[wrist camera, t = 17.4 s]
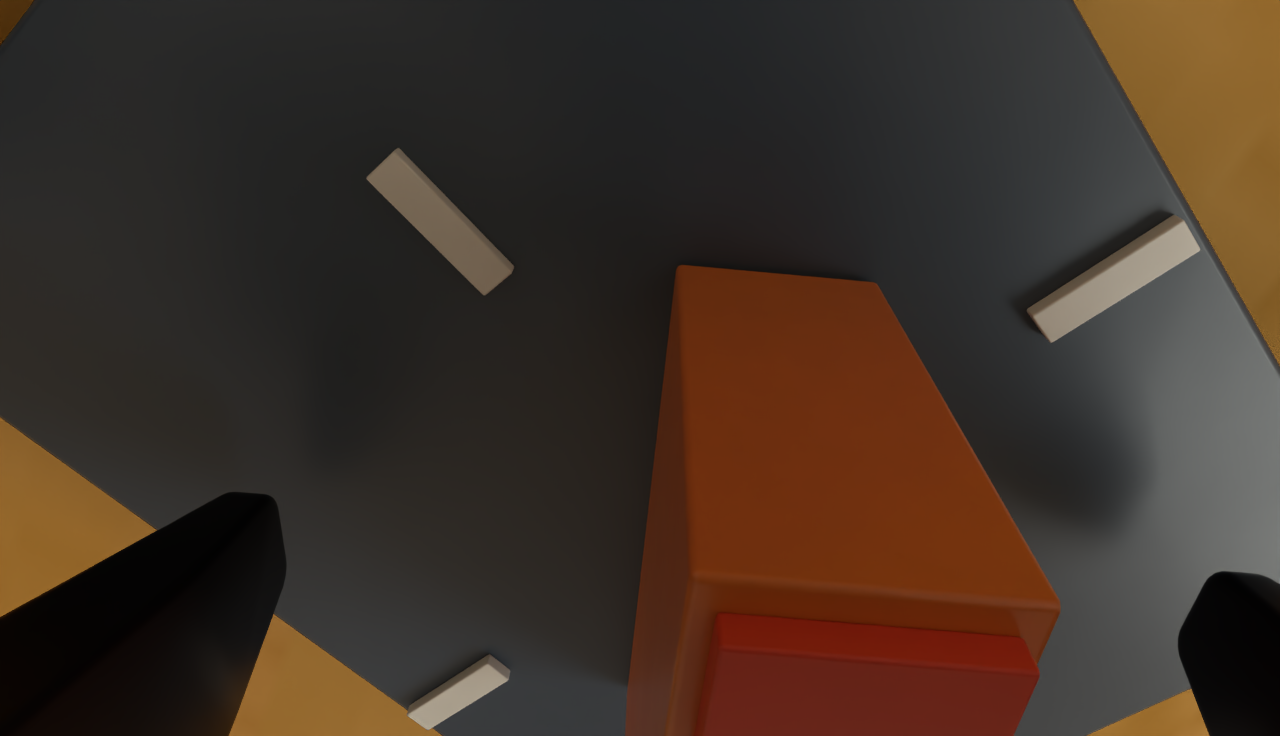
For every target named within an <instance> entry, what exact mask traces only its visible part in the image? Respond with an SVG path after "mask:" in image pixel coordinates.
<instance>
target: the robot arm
mask: <svg viewBox="0 0 1280 736" xmlns="http://www.w3.org/2000/svg"><path fill="white" fill-rule="evenodd" d="M286 569H287V562H286V554H285V548H284V541H283V534H282V528H281V521H280V515H279V509H278V505H277V503H276V501H275V499H274V498H273V497H271V496H270V495H268V494H259V493H247V492H228V493H225V494H223V495H221V496H219V497H217V498H215V499H213V500H212V501H210V502H208V503H206V504H204V505H203V506H201V507H199V508H197V509H195V510H193V511H192V512H190V513H188V514H186V515H184V516H183V517H181V518H179V519H177V520H175V521H174V522H172V523H170V524H168V525H166V526H165V527H163V528H161V529H159V530H157V531H155V532H154V533H152V534H150V535H148V536H146V537H145V538H143V539H141V540H139V541H137V542H136V543H134V544H132V545H130V546H128V547H126V548H125V549H123V550H121V551H119V552H117V553H116V554H114V555H112V556H110V557H108V558H107V559H105V560H103V561H101V562H99V563H98V564H96V565H94V566H92V567H90V568H88V569H87V570H85V571H83V572H81V573H79V574H78V575H76V576H74V577H72V578H70V579H69V580H67V581H65V582H63V583H61V584H59V585H58V586H56V587H54V588H52V589H50V590H49V591H47V592H45V593H43V594H41V595H40V596H38V597H36V598H34V599H32V600H30V601H29V602H27V603H25V604H23V605H21V606H20V607H18V608H16V609H14V610H12V611H11V612H9V613H7V614H5V615H3V616H2V617H0V736H229V733H230V731H231V728H232V726H233V723H234V721H235V718H236V715H237V713H238V710H239V708H240V705H241V702H242V699H243V697H244V694H245V691H246V688H247V686H248V683H249V680H250V677H251V675H252V672H253V669H254V666H255V663H256V661H257V658H258V655H259V652H260V650H261V647H262V644H263V641H264V639H265V636H266V633H267V630H268V628H269V625H270V622H271V619H272V617H273V614H274V611H275V608H276V605H277V603H278V600H279V597H280V594H281V592H282V589H283V586H284V582H285V577H286ZM1178 652H1179V657H1180V660H1181V663H1182V665H1183V668H1184V671H1185V673H1186V676H1187V678H1188V681H1189V684H1190V686H1191V689H1192V691H1193V694H1194V697H1195V699H1196V702H1197V704H1198V707H1199V709H1200V712H1201V715H1202V717H1203V720H1204V722H1205V725H1206V728H1207V730H1208V733H1209V735H1210V736H1280V584H1279V583H1278V582H1276V581H1274V580H1272V579H1271V578H1268V577H1266V576H1264V575H1260V574H1255V573H1244V572H1232V571H1220V572H1216V573H1214V574H1213V575H1211V576H1210V577H1209V578H1208V579H1207V580H1206V582H1205V583H1204V585H1203V587H1202V589H1201V591H1200V593H1199V594H1198V596H1197V598H1196V600H1195V602H1194V604H1193V606H1192V608H1191V610H1190V611H1189V613H1188V615H1187V617H1186V619H1185V621H1184V623H1183V625H1182V627H1181V629H1180V631H1179V635H1178Z"/></svg>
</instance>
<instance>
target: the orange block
mask: <svg viewBox="0 0 1280 736" xmlns="http://www.w3.org/2000/svg"><path fill="white" fill-rule="evenodd" d="M1060 608H1061V606H1060V600H1059V598H1058V597H1057V595H1056V593H1055V591H1054V590H1053V588H1052V586H1051V584H1050V583H1049V581H1048V579H1047V577H1046V576H1045V574H1044V572H1043V571H1042V569H1041V567H1040V565H1039V564H1038V562H1037V560H1036V558H1035V557H1034V555H1033V553H1032V551H1031V550H1030V548H1029V546H1028V545H1027V543H1026V541H1025V539H1024V538H1023V536H1022V534H1021V532H1020V531H1019V529H1018V527H1017V525H1016V524H1015V522H1014V520H1013V519H1012V517H1011V515H1010V513H1009V512H1008V510H1007V508H1006V506H1005V505H1004V503H1003V501H1002V499H1001V498H1000V496H999V494H998V493H997V491H996V489H995V487H994V486H993V484H992V482H991V480H990V479H989V477H988V475H987V473H986V472H985V470H984V468H983V467H982V465H981V463H980V461H979V460H978V458H977V456H976V454H975V453H974V451H973V449H972V447H971V446H970V444H969V442H968V441H967V439H966V437H965V435H964V434H963V432H962V430H961V428H960V427H959V425H958V423H957V421H956V420H955V418H954V416H953V415H952V413H951V411H950V409H949V408H948V406H947V404H946V402H945V401H944V399H943V397H942V395H941V394H940V392H939V390H938V389H937V387H936V385H935V383H934V382H933V380H932V378H931V376H930V375H929V373H928V371H927V369H926V368H925V366H924V364H923V363H922V361H921V359H920V357H919V356H918V354H917V352H916V350H915V349H914V347H913V345H912V343H911V342H910V340H909V338H908V337H907V335H906V333H905V331H904V330H903V328H902V326H901V324H900V323H899V321H898V319H897V317H896V316H895V314H894V312H893V311H892V309H891V307H890V305H889V304H888V302H887V300H886V298H885V297H884V295H883V293H882V291H881V290H880V288H879V286H878V285H877V284H876V283H874V282H866V281H855V280H844V279H833V278H822V277H811V276H800V275H789V274H778V273H767V272H756V271H745V270H734V269H723V268H712V267H701V266H690V265H680V266H678V267H677V269H676V275H675V283H674V292H673V301H672V309H671V318H670V326H669V335H668V344H667V352H666V361H665V370H664V378H663V387H662V396H661V404H660V413H659V421H658V430H657V439H656V447H655V456H654V465H653V473H652V482H651V491H650V499H649V508H648V516H647V525H646V534H645V542H644V551H643V560H642V568H641V577H640V586H639V594H638V603H637V611H636V620H635V629H634V637H633V646H632V655H631V663H630V672H629V681H628V689H627V705H626V728H625V736H1014V733H1015V731H1016V729H1017V727H1018V725H1019V722H1020V720H1021V718H1022V716H1023V713H1024V711H1025V709H1026V707H1027V704H1028V702H1029V700H1030V698H1031V695H1032V693H1033V691H1034V689H1035V686H1036V684H1037V682H1038V680H1039V677H1040V671H1039V668H1038V666H1037V664H1038V662H1039V660H1040V657H1041V655H1042V653H1043V651H1044V648H1045V646H1046V644H1047V642H1048V639H1049V637H1050V635H1051V632H1052V630H1053V628H1054V626H1055V623H1056V621H1057V619H1058V617H1059V614H1060Z"/></svg>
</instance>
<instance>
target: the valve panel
mask: <svg viewBox="0 0 1280 736" xmlns="http://www.w3.org/2000/svg"><path fill="white" fill-rule="evenodd" d="M680 265H690V266H701V267H712V268H723V269H734V270H745V271H756V272H767V273H778V274H789V275H800V276H811V277H822V278H833V279H844V280H855V281H866V282H874V283H876V284H877V285H878V286H879V288H880V290H881V291H882V293H883V295H884V297H885V298H886V300H887V302H888V304H889V305H890V307H891V309H892V311H893V312H894V314H895V316H896V317H897V319H898V321H899V323H900V324H901V326H902V328H903V330H904V331H905V333H906V335H907V337H908V338H909V340H910V342H911V343H912V345H913V347H914V349H915V350H916V352H917V354H918V356H919V357H920V359H921V361H922V363H923V364H924V366H925V368H926V369H927V371H928V373H929V375H930V376H931V378H932V380H933V382H934V383H935V385H936V387H937V389H938V390H939V392H940V394H941V395H942V397H943V399H944V401H945V402H946V404H947V406H948V408H949V409H950V411H951V413H952V415H953V416H954V418H955V420H956V421H957V423H958V425H959V427H960V428H961V430H962V432H963V434H964V435H965V437H966V439H967V441H968V442H969V444H970V446H971V447H972V449H973V451H974V453H975V454H976V456H977V458H978V460H979V461H980V463H981V465H982V467H983V468H984V470H985V472H986V473H987V475H988V477H989V479H990V480H991V482H992V484H993V486H994V487H995V489H996V491H997V493H998V494H999V496H1000V498H1001V499H1002V501H1003V503H1004V505H1005V506H1006V508H1007V510H1008V512H1009V513H1010V515H1011V517H1012V519H1013V520H1014V522H1015V524H1016V525H1017V527H1018V529H1019V531H1020V532H1021V534H1022V536H1023V538H1024V539H1025V541H1026V543H1027V545H1028V546H1029V548H1030V550H1031V551H1032V553H1033V555H1034V557H1035V558H1036V560H1037V562H1038V564H1039V565H1040V567H1041V569H1042V571H1043V572H1044V574H1045V576H1046V577H1047V579H1048V581H1049V583H1050V584H1051V586H1052V588H1053V590H1054V591H1055V593H1056V595H1057V597H1058V598H1059V600H1060V606H1061V608H1060V614H1059V617H1058V619H1057V621H1056V623H1055V626H1054V628H1053V630H1052V632H1051V635H1050V637H1049V639H1048V642H1047V644H1046V646H1045V648H1044V651H1043V653H1042V655H1041V657H1040V660H1039V662H1038V664H1037V666H1038V668H1039V671H1040V677H1039V680H1038V682H1037V684H1036V686H1035V689H1034V691H1033V693H1032V695H1031V698H1030V700H1029V702H1028V704H1027V707H1026V709H1025V711H1024V713H1023V716H1022V718H1021V720H1020V722H1019V725H1018V727H1017V729H1016V731H1015V733H1014V736H1086V735H1089V734H1091V733H1093V732H1095V731H1097V730H1100V729H1102V728H1104V727H1106V726H1109V725H1111V724H1113V723H1115V722H1117V721H1120V720H1122V719H1124V718H1126V717H1129V716H1131V715H1133V714H1135V713H1137V712H1140V711H1142V710H1144V709H1146V708H1148V707H1151V706H1153V705H1155V704H1157V703H1160V702H1162V701H1164V700H1166V699H1168V698H1171V697H1173V696H1175V695H1177V694H1180V693H1182V692H1184V691H1186V690H1188V689H1191V686H1190V684H1189V681H1188V678H1187V676H1186V673H1185V671H1184V668H1183V665H1182V663H1181V660H1180V657H1179V652H1178V635H1179V631H1180V629H1181V627H1182V625H1183V623H1184V621H1185V619H1186V617H1187V615H1188V613H1189V611H1190V610H1191V608H1192V606H1193V604H1194V602H1195V600H1196V598H1197V596H1198V594H1199V593H1200V591H1201V589H1202V587H1203V585H1204V583H1205V582H1206V580H1207V579H1208V578H1209V577H1210V576H1211V575H1213V574H1214V573H1216V572H1220V571H1232V572H1244V573H1255V574H1260V575H1264V576H1266V577H1268V578H1271V579H1272V580H1274V581H1276V582H1278V583H1279V584H1280V366H1279V364H1278V362H1277V360H1276V359H1275V357H1274V355H1273V353H1272V351H1271V350H1270V348H1269V346H1268V344H1267V343H1266V341H1265V339H1264V337H1263V336H1262V334H1261V332H1260V330H1259V328H1258V327H1257V325H1256V323H1255V321H1254V320H1253V318H1252V316H1251V314H1250V313H1249V311H1248V309H1247V307H1246V305H1245V304H1244V302H1243V300H1242V298H1241V297H1240V295H1239V293H1238V291H1237V290H1236V288H1235V286H1234V284H1233V282H1232V281H1231V279H1230V277H1229V275H1228V274H1227V272H1226V270H1225V268H1224V267H1223V265H1222V263H1221V261H1220V259H1219V258H1218V256H1217V254H1216V252H1215V251H1214V249H1213V247H1212V245H1211V244H1210V242H1209V240H1208V238H1207V236H1206V235H1205V233H1204V231H1203V229H1202V228H1201V226H1200V224H1199V222H1198V221H1197V219H1196V217H1195V215H1194V213H1193V212H1192V210H1191V208H1190V206H1189V205H1188V203H1187V201H1186V199H1185V198H1184V196H1183V194H1182V192H1181V190H1180V189H1179V187H1178V185H1177V183H1176V182H1175V180H1174V178H1173V176H1172V174H1171V173H1170V171H1169V169H1168V167H1167V166H1166V164H1165V162H1164V160H1163V159H1162V157H1161V155H1160V153H1159V151H1158V150H1157V148H1156V146H1155V144H1154V143H1153V141H1152V139H1151V137H1150V136H1149V134H1148V132H1147V130H1146V128H1145V127H1144V125H1143V123H1142V121H1141V120H1140V118H1139V116H1138V114H1137V113H1136V111H1135V109H1134V107H1133V105H1132V104H1131V102H1130V100H1129V98H1128V97H1127V95H1126V93H1125V91H1124V90H1123V88H1122V86H1121V84H1120V82H1119V81H1118V79H1117V77H1116V75H1115V74H1114V72H1113V70H1112V68H1111V67H1110V65H1109V63H1108V61H1107V59H1106V58H1105V56H1104V54H1103V52H1102V51H1101V49H1100V47H1099V45H1098V44H1097V42H1096V40H1095V38H1094V36H1093V35H1092V33H1091V31H1090V29H1089V28H1088V26H1087V24H1086V22H1085V21H1084V19H1083V17H1082V15H1081V13H1080V12H1079V10H1078V8H1077V6H1076V5H1075V3H1074V1H1073V0H34V1H33V3H32V4H31V5H30V7H29V8H28V9H27V11H26V12H25V13H24V15H23V16H22V17H21V19H20V20H19V21H18V23H17V24H16V25H15V27H14V28H13V29H12V31H11V32H10V33H9V35H8V36H7V37H6V39H5V40H4V41H3V43H2V44H1V45H0V417H1V418H2V419H3V420H5V421H6V422H8V423H9V424H10V425H12V426H13V427H14V428H16V429H17V430H19V431H20V432H21V433H23V434H24V435H26V436H27V437H28V438H30V439H31V440H33V441H34V442H35V443H37V444H38V445H40V446H41V447H42V448H44V449H45V450H46V451H48V452H49V453H51V454H52V455H53V456H55V457H56V458H58V459H59V460H60V461H62V462H63V463H65V464H66V465H67V466H69V467H70V468H71V469H73V470H74V471H76V472H77V473H78V474H80V475H81V476H83V477H84V478H85V479H87V480H88V481H90V482H91V483H92V484H94V485H95V486H96V487H98V488H99V489H101V490H102V491H103V492H105V493H106V494H108V495H109V496H110V497H112V498H113V499H115V500H116V501H117V502H119V503H120V504H122V505H123V506H124V507H126V508H127V509H128V510H130V511H131V512H133V513H134V514H135V515H137V516H138V517H140V518H141V519H142V520H144V521H145V522H147V523H148V524H149V525H151V526H152V527H153V528H155V529H156V530H159V529H161V528H163V527H165V526H166V525H168V524H170V523H172V522H174V521H175V520H177V519H179V518H181V517H183V516H184V515H186V514H188V513H190V512H192V511H193V510H195V509H197V508H199V507H201V506H203V505H204V504H206V503H208V502H210V501H212V500H213V499H215V498H217V497H219V496H221V495H223V494H225V493H228V492H247V493H259V494H268V495H270V496H271V497H273V498H274V499H275V501H276V503H277V505H278V509H279V515H280V521H281V528H282V534H283V541H284V548H285V554H286V562H287V569H286V577H285V582H284V586H283V589H282V592H281V594H280V597H279V600H278V603H277V605H276V608H275V611H274V615H276V616H277V617H279V618H280V619H281V620H283V621H284V622H286V623H287V624H288V625H290V626H291V627H292V628H294V629H295V630H297V631H298V632H299V633H301V634H302V635H304V636H305V637H306V638H308V639H309V640H311V641H312V642H313V643H315V644H316V645H318V646H319V647H320V648H322V649H323V650H324V651H326V652H327V653H329V654H330V655H331V656H333V657H334V658H336V659H337V660H338V661H340V662H341V663H343V664H344V665H345V666H347V667H348V668H349V669H351V670H352V671H354V672H355V673H356V674H358V675H359V676H361V677H362V678H363V679H365V680H366V681H368V682H369V683H370V684H372V685H373V686H375V687H376V688H377V689H379V690H380V691H381V692H383V693H384V694H386V695H387V696H388V697H390V698H391V699H393V700H394V701H395V702H397V703H398V704H400V705H401V706H402V707H404V708H405V709H406V710H408V712H407V716H408V717H410V718H411V719H413V720H414V721H415V722H417V723H418V724H420V725H421V726H422V727H424V728H425V729H427V730H429V729H431V728H433V729H434V730H436V731H437V732H438V733H440V734H441V735H443V736H625V728H626V705H627V689H628V681H629V672H630V663H631V655H632V646H633V637H634V629H635V620H636V611H637V603H638V594H639V586H640V577H641V568H642V560H643V551H644V542H645V534H646V525H647V516H648V508H649V499H650V491H651V482H652V473H653V465H654V456H655V447H656V439H657V430H658V421H659V413H660V404H661V396H662V387H663V378H664V370H665V361H666V352H667V344H668V335H669V326H670V318H671V309H672V301H673V292H674V283H675V275H676V269H677V267H678V266H680Z"/></svg>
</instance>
